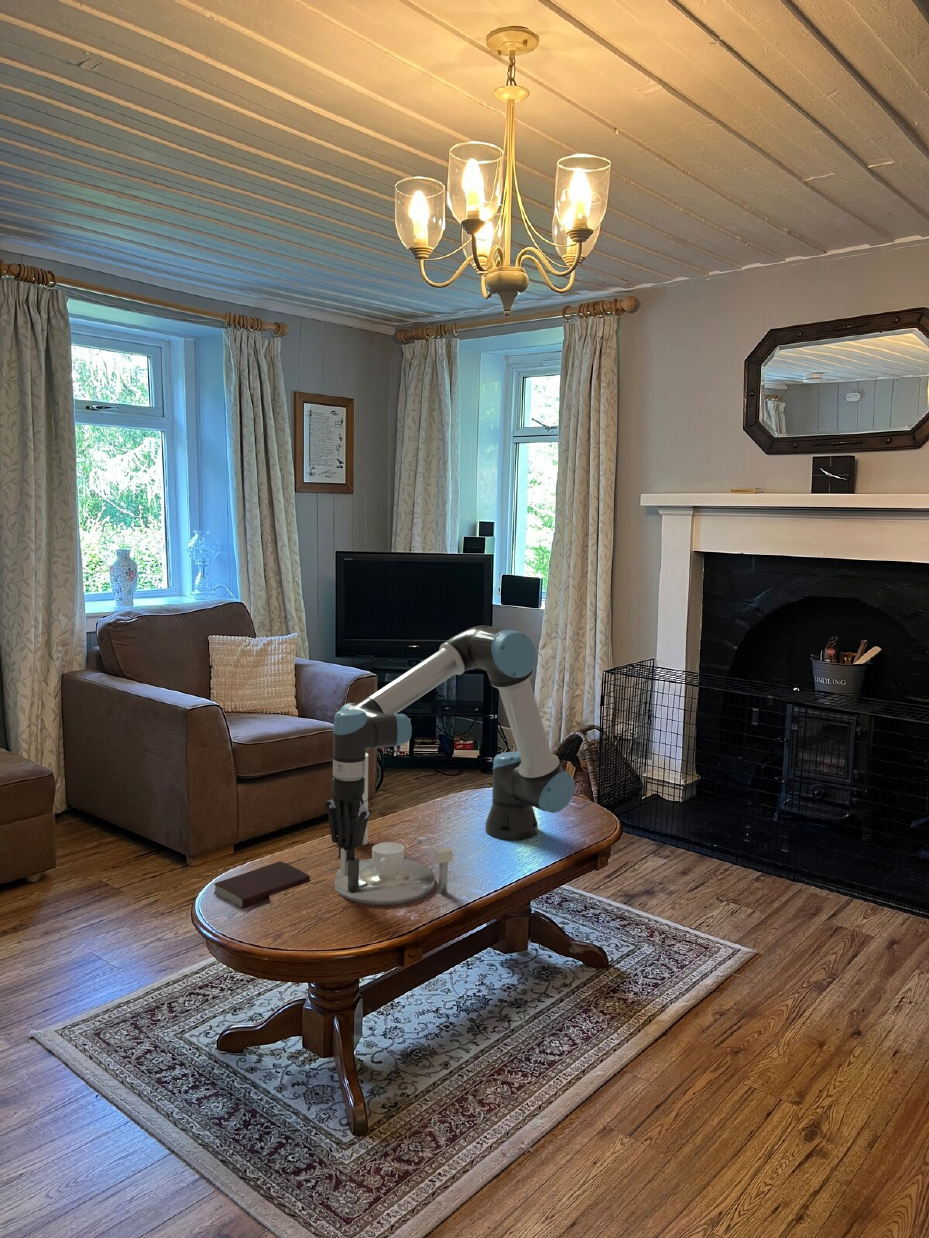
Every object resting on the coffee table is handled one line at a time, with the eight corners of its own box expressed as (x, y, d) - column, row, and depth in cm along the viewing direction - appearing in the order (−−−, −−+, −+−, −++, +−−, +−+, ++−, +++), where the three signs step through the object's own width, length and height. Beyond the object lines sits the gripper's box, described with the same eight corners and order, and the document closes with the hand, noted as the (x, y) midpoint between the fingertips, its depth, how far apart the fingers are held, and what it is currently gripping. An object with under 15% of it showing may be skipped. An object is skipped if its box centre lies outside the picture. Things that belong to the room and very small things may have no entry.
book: (310, 886, 218) (310, 874, 218) (242, 910, 204) (242, 897, 204) (279, 872, 227) (279, 860, 226) (212, 894, 213) (212, 881, 212)
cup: (406, 869, 221) (407, 843, 220) (397, 885, 211) (398, 858, 210) (376, 867, 222) (376, 840, 221) (365, 883, 212) (366, 855, 211)
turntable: (380, 857, 234) (381, 822, 232) (453, 881, 219) (454, 843, 218) (312, 887, 214) (313, 848, 213) (388, 914, 200) (388, 874, 199)
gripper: (317, 774, 209) (315, 871, 211) (358, 785, 201) (356, 886, 204) (339, 768, 215) (336, 862, 217) (380, 778, 207) (377, 876, 210)
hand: (346, 873), depth 211 cm, fingers closed
